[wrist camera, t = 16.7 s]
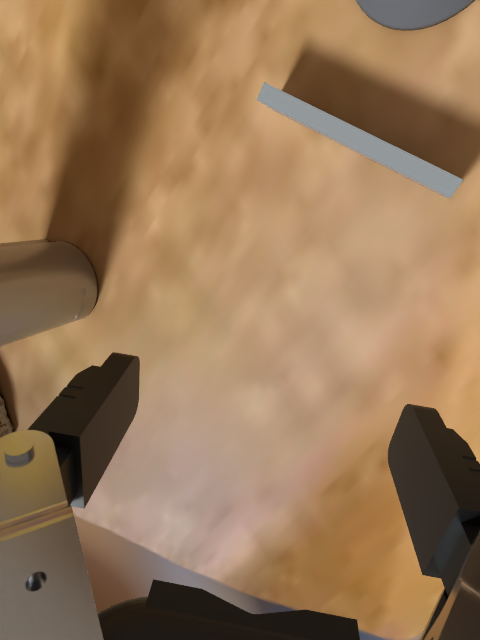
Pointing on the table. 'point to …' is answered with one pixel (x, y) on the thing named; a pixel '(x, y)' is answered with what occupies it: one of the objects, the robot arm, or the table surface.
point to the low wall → (360, 141)
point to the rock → (4, 421)
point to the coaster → (412, 12)
